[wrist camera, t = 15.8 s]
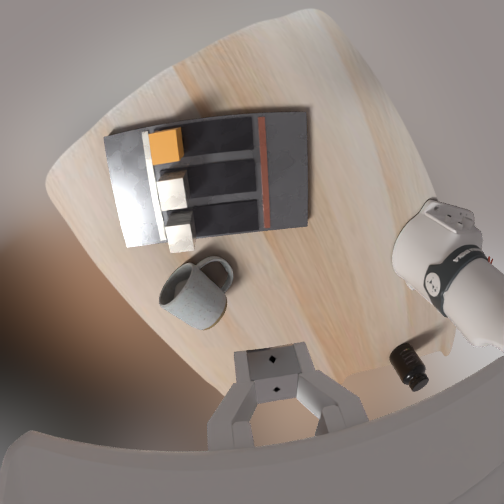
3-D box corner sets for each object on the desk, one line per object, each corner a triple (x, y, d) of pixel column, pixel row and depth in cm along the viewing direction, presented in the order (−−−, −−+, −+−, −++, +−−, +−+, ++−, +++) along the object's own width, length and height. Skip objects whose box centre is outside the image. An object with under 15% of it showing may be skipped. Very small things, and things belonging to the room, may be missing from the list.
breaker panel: (302, 111, 33) (319, 112, 27) (304, 222, 41) (318, 241, 35) (107, 136, 31) (87, 142, 26) (129, 242, 39) (117, 264, 33)
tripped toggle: (180, 127, 30) (175, 129, 26) (184, 154, 32) (179, 161, 28) (156, 131, 30) (148, 134, 26) (160, 158, 32) (152, 165, 28)
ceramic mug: (198, 311, 46) (197, 343, 40) (161, 283, 43) (154, 314, 36) (244, 273, 44) (251, 303, 37) (207, 240, 41) (206, 267, 34)
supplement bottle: (407, 355, 63) (427, 388, 53) (386, 363, 63) (405, 398, 52) (413, 339, 60) (435, 372, 49) (391, 347, 59) (412, 383, 49)
